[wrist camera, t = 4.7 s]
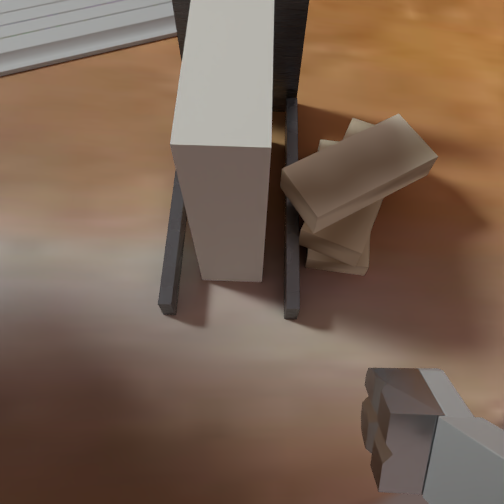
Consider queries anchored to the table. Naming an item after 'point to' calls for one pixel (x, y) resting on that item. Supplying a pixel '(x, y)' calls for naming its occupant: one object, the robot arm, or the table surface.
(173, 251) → the rack
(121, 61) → the table surface
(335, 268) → the block
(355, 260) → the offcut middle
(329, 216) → the offcut top
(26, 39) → the baseboard molding
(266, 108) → the off-white wooden block
